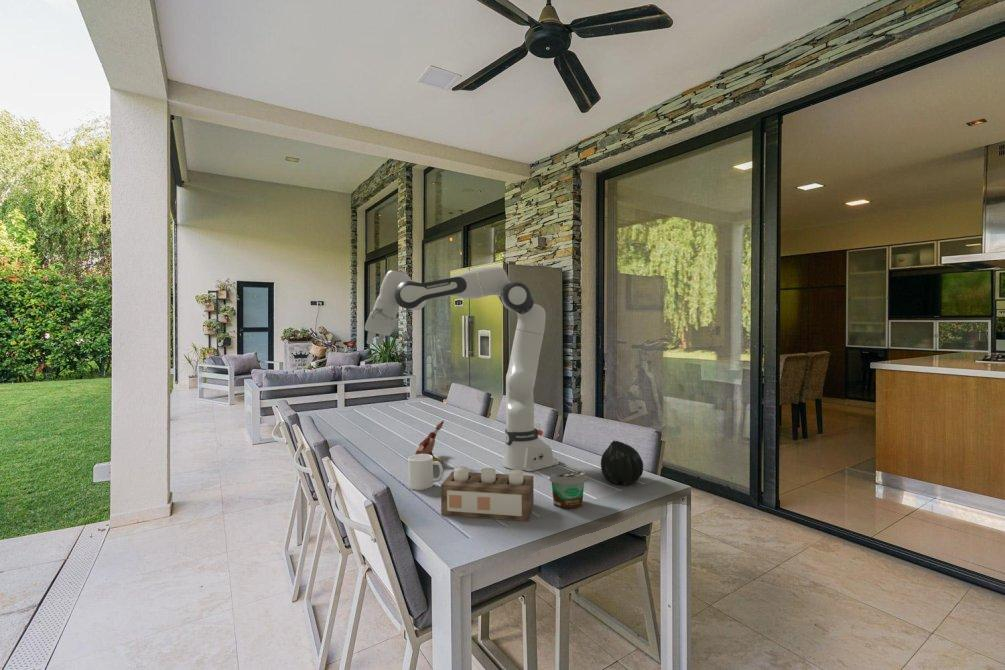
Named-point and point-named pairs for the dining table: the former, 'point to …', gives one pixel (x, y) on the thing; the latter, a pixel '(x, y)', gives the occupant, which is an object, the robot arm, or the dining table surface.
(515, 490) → the wooden peg block
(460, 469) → the white egg
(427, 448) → the decorative bird
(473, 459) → the dining table surface
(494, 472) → the white rounded cylinder
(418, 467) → the cup
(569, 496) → the food container
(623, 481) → the squash
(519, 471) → the white rounded cylinder
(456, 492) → the pattern card
